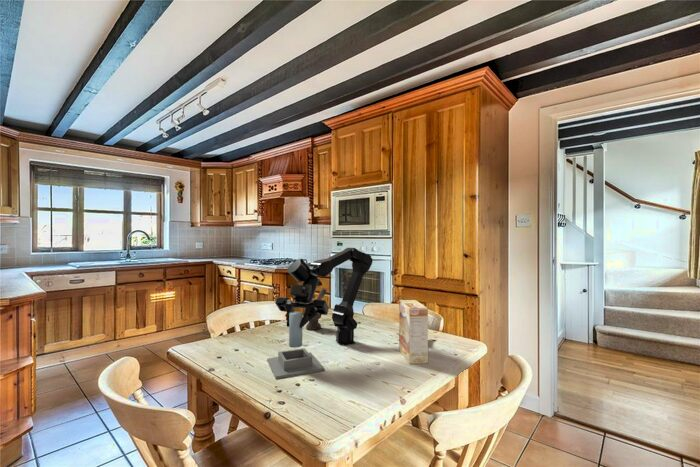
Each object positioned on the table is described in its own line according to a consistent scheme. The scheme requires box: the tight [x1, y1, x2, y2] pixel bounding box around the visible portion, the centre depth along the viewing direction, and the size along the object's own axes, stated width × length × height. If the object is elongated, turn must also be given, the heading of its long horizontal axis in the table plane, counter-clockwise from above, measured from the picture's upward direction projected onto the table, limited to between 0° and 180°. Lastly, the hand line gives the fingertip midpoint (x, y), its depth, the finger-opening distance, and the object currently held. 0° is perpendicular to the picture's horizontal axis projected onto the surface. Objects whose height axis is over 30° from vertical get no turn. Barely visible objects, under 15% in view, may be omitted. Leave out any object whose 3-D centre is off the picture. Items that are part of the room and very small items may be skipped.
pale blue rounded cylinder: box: [288, 311, 304, 349], centre depth 110 cm, size 4×4×11 cm
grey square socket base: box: [266, 347, 325, 380], centre depth 110 cm, size 16×16×4 cm
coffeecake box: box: [398, 299, 429, 365], centre depth 120 cm, size 15×7×20 cm, turn 5°
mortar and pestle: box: [305, 287, 328, 331], centre depth 155 cm, size 12×9×20 cm
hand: (293, 326), depth 109 cm, fingers closed on pale blue rounded cylinder, 4 cm apart
